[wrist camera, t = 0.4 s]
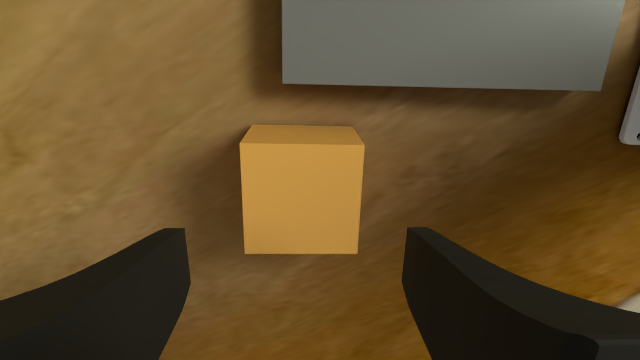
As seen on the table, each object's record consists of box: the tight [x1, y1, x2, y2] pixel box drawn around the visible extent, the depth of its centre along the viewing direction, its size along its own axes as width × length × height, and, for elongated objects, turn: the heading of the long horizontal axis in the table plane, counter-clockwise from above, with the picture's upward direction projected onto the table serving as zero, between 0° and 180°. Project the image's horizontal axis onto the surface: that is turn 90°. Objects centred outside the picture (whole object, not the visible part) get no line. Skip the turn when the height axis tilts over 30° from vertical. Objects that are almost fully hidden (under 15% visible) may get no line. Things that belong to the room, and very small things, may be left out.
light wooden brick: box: [240, 125, 365, 254], centre depth 19 cm, size 5×5×4 cm
